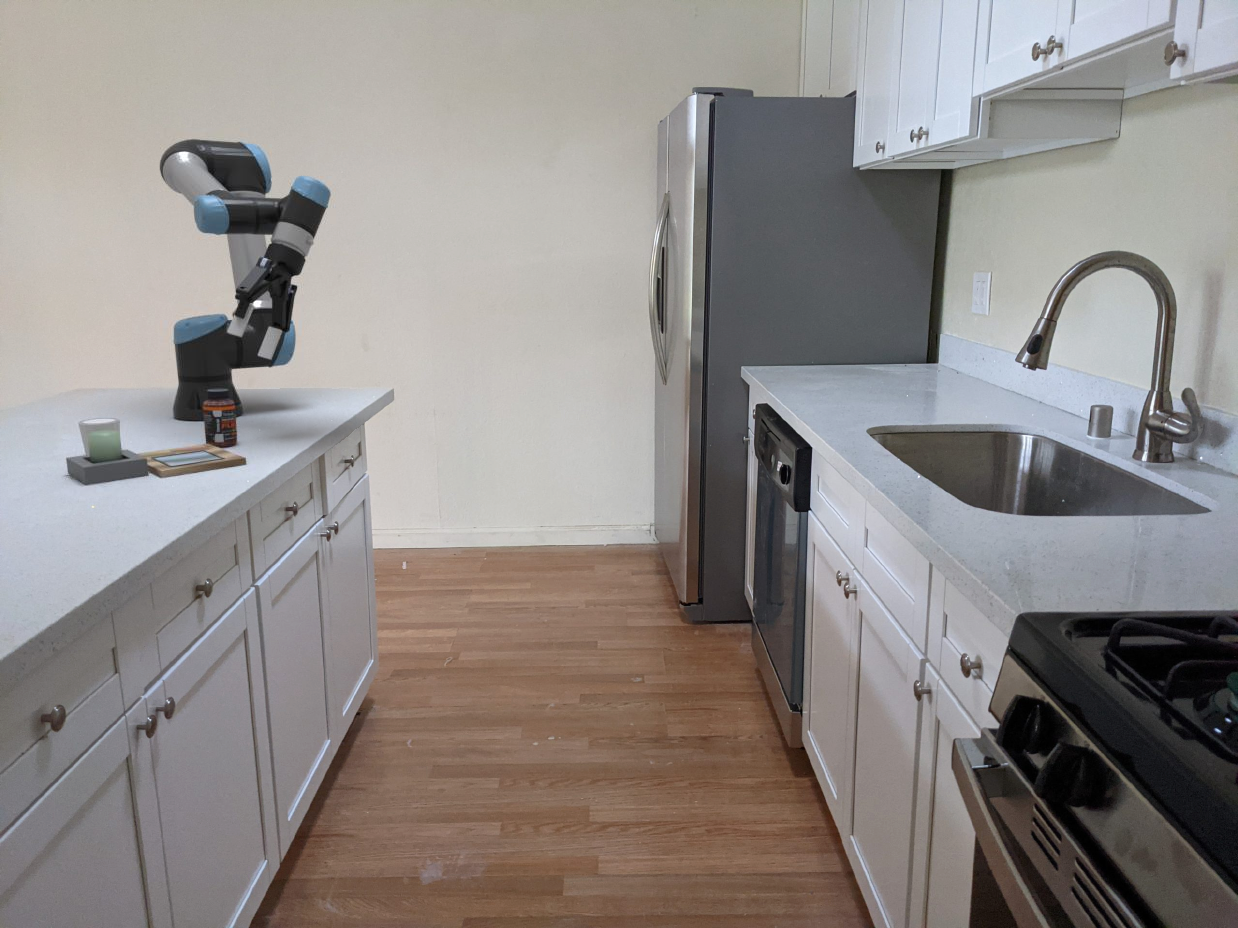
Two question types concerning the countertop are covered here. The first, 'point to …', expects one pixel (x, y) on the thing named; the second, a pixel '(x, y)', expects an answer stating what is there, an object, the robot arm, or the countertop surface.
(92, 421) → the shot glass
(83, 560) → the countertop surface
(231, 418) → the supplement bottle
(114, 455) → the button
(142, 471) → the button housing
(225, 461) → the board
